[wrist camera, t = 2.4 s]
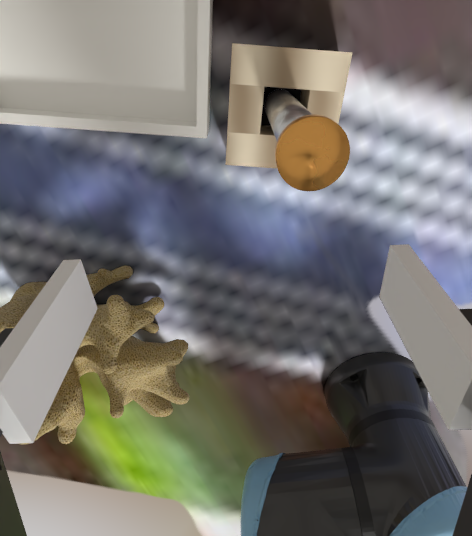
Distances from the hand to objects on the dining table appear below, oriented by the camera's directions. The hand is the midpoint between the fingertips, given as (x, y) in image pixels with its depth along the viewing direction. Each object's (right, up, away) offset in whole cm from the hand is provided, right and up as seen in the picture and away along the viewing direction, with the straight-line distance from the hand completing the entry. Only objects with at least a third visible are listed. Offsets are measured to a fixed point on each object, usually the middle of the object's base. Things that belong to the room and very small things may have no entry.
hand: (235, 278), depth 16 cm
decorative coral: (-16, -6, +35) cm, 39 cm away
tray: (-13, +23, +18) cm, 32 cm away
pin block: (+4, +17, +21) cm, 27 cm away
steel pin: (+4, +17, +21) cm, 27 cm away
